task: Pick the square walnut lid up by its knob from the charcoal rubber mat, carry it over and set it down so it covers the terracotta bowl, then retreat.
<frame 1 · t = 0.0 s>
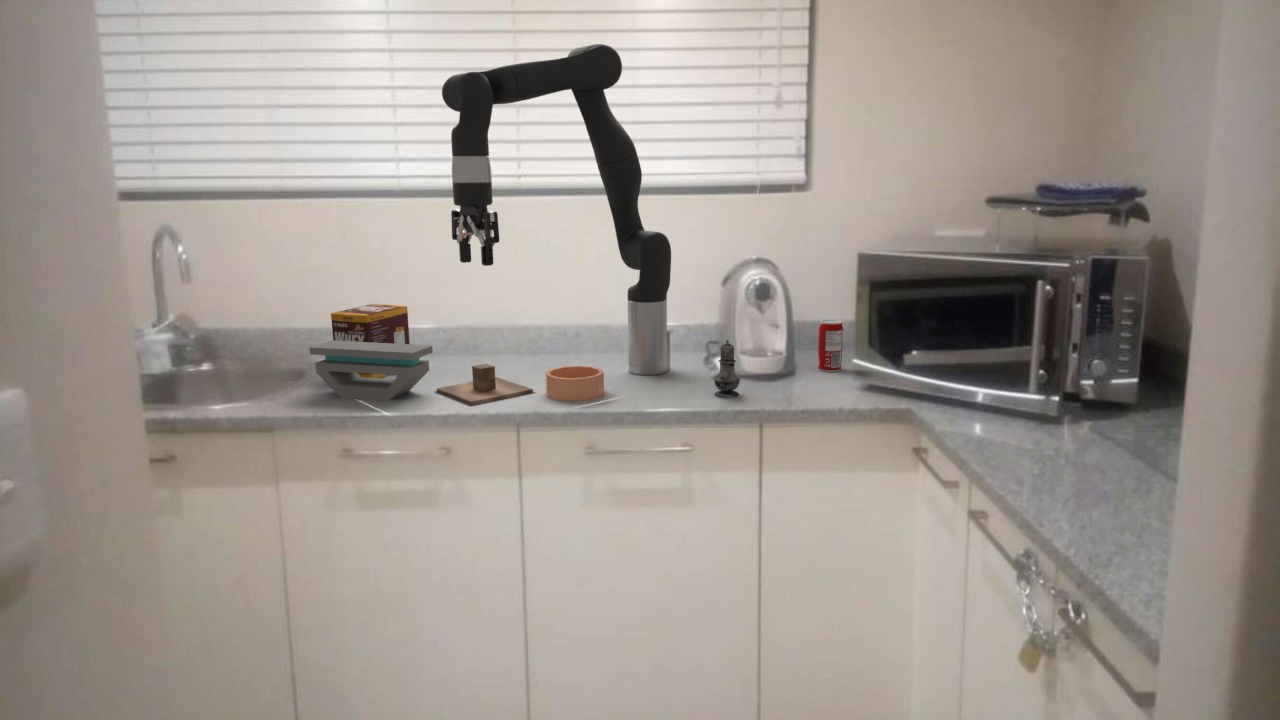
hand: (476, 263, 170), 29 cm above the worktop, fingers open, 8 cm apart
soda can: (829, 370, 204), on the worktop
sharpening stone: (374, 396, 186), on the worktop
terracotta bowl: (575, 394, 184), on the worktop
charcoal mat: (484, 394, 185), on the worktop
supplement box: (374, 373, 207), on the worktop
walnut lid: (484, 392, 185), resting on charcoal mat
salt shaker: (726, 395, 183), on the worktop
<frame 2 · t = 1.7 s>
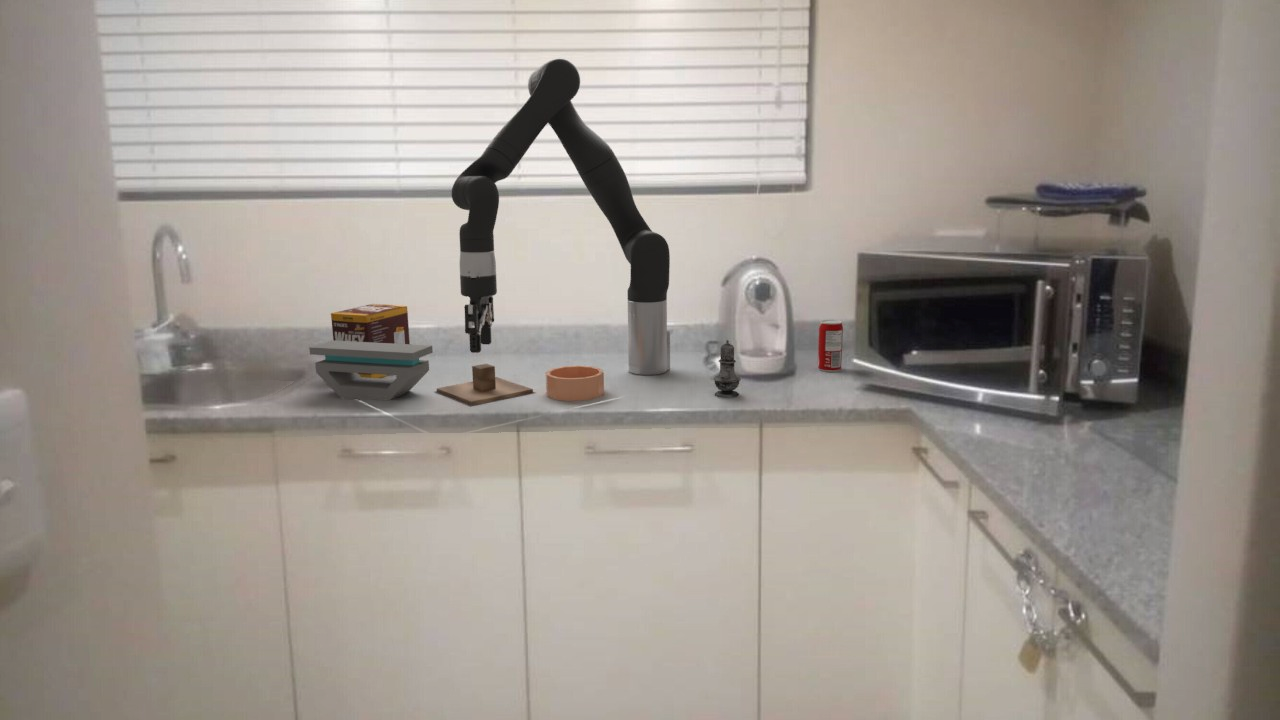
hand: (481, 348, 183), 10 cm above the worktop, fingers open, 8 cm apart
nothing on the worktop moved.
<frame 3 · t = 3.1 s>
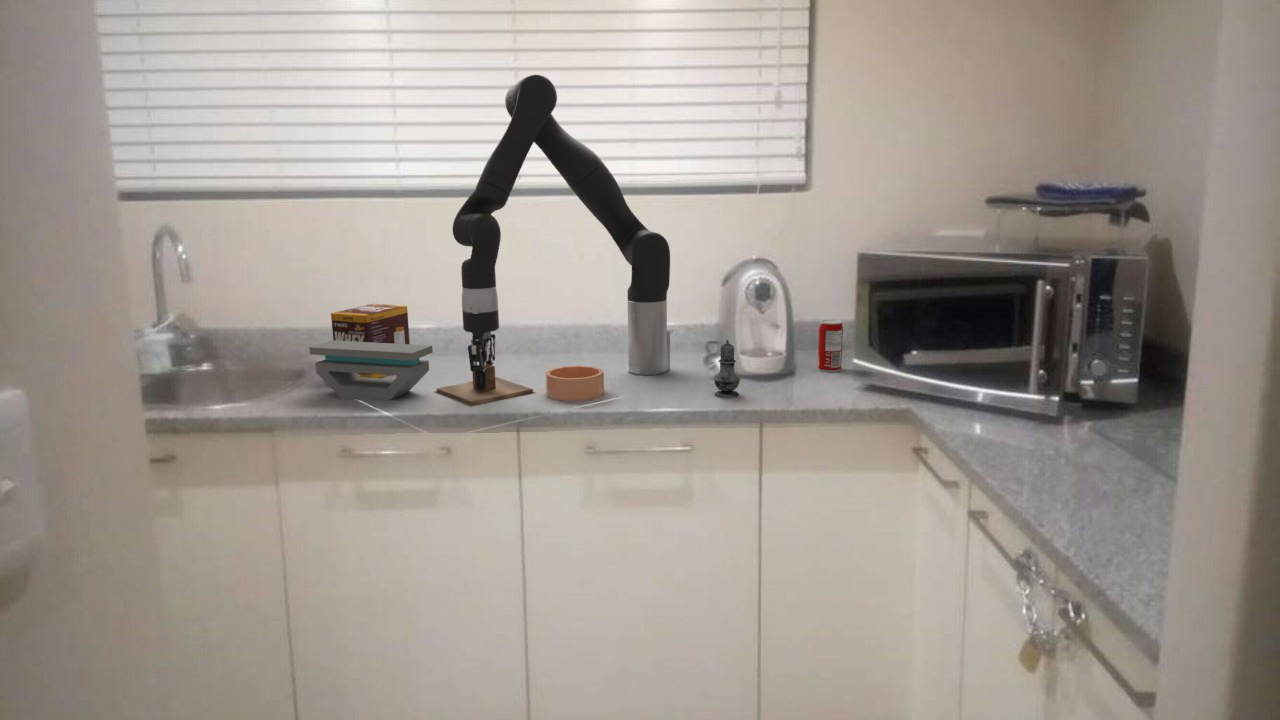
hand: (484, 385, 185), 2 cm above the worktop, fingers closed on walnut lid, 5 cm apart
walnut lid: (484, 392, 185), resting on charcoal mat, touching gripper
everything else where it was.
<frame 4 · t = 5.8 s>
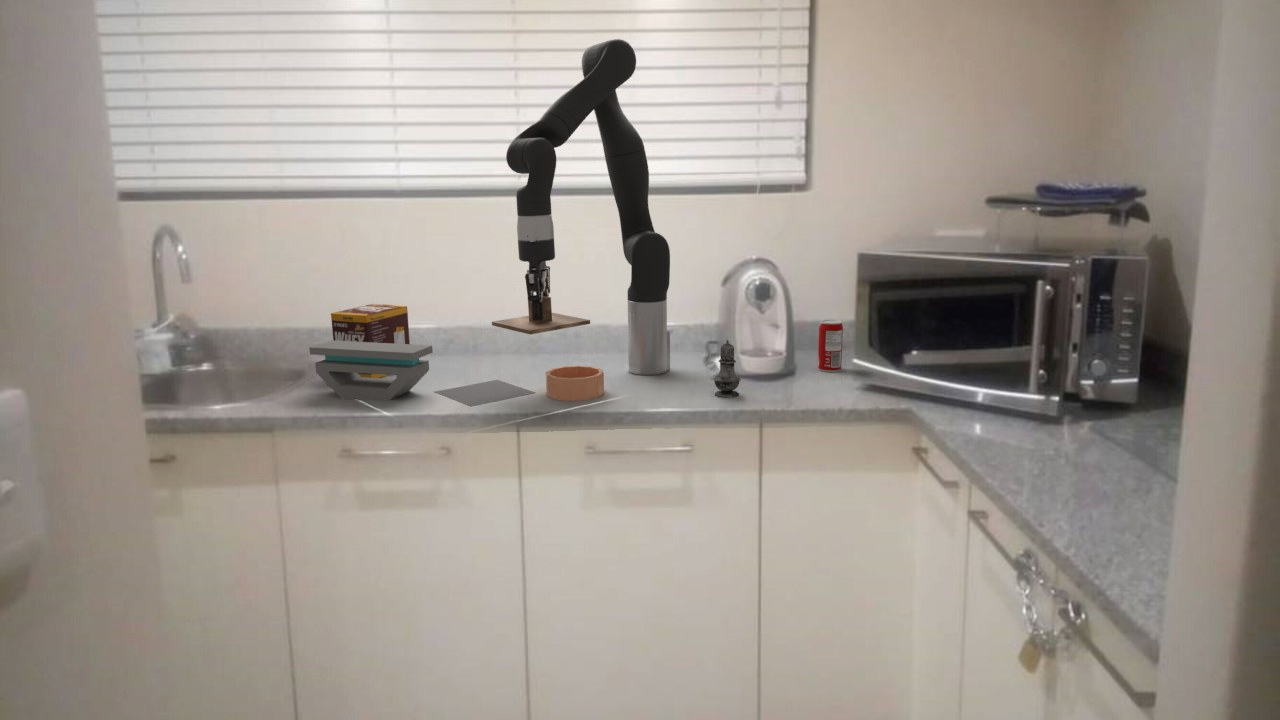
hand: (540, 317, 181), 17 cm above the worktop, fingers closed on walnut lid, 5 cm apart
walnut lid: (540, 324, 182), point 15 cm above the worktop, touching gripper
everything else where it was.
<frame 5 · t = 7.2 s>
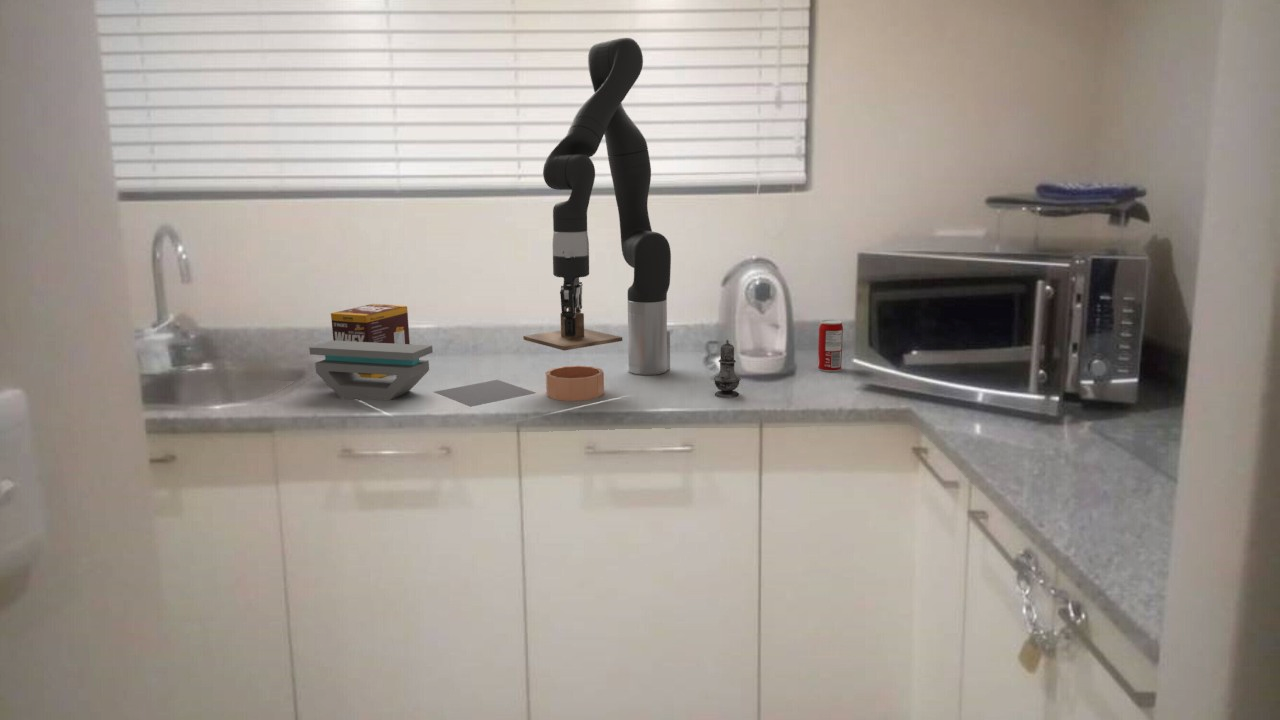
hand: (572, 333, 181), 13 cm above the worktop, fingers closed on walnut lid, 5 cm apart
walnut lid: (572, 340, 181), point 12 cm above the worktop, touching gripper
everything else where it was.
when the fingers open (8 cm above the worktop, at t = 8.6 s): walnut lid drops 1 cm, resting on terracotta bowl.
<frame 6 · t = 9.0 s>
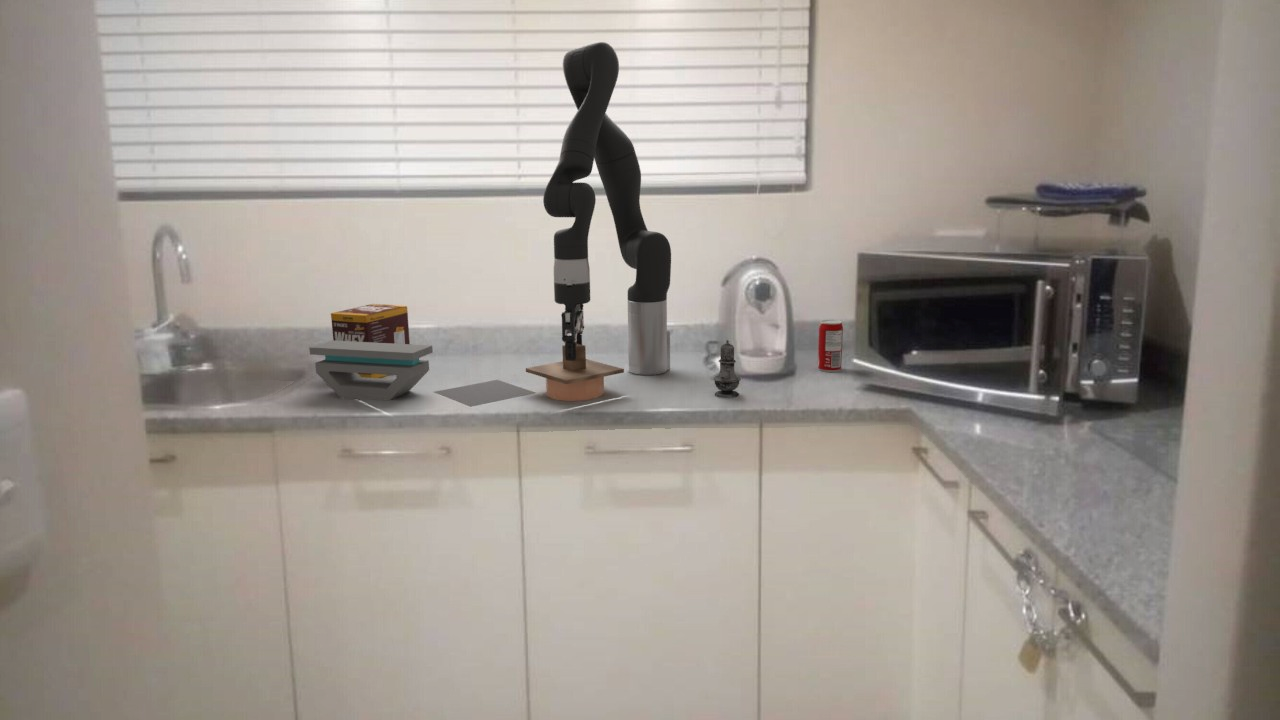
hand: (574, 355, 182), 9 cm above the worktop, fingers open, 8 cm apart
walnut lid: (574, 372, 183), point 5 cm above the worktop, touching terracotta bowl
everything else where it was.
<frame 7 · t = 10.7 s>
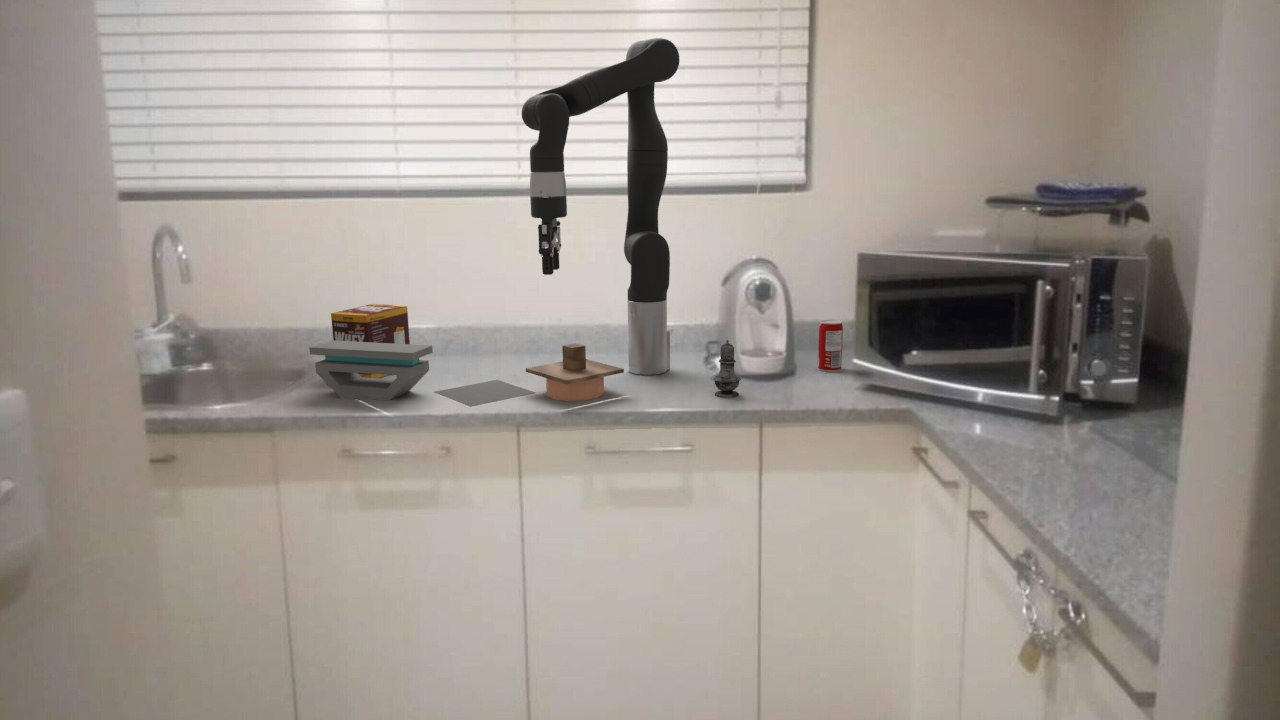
hand: (551, 272, 182), 26 cm above the worktop, fingers open, 8 cm apart
nothing on the worktop moved.
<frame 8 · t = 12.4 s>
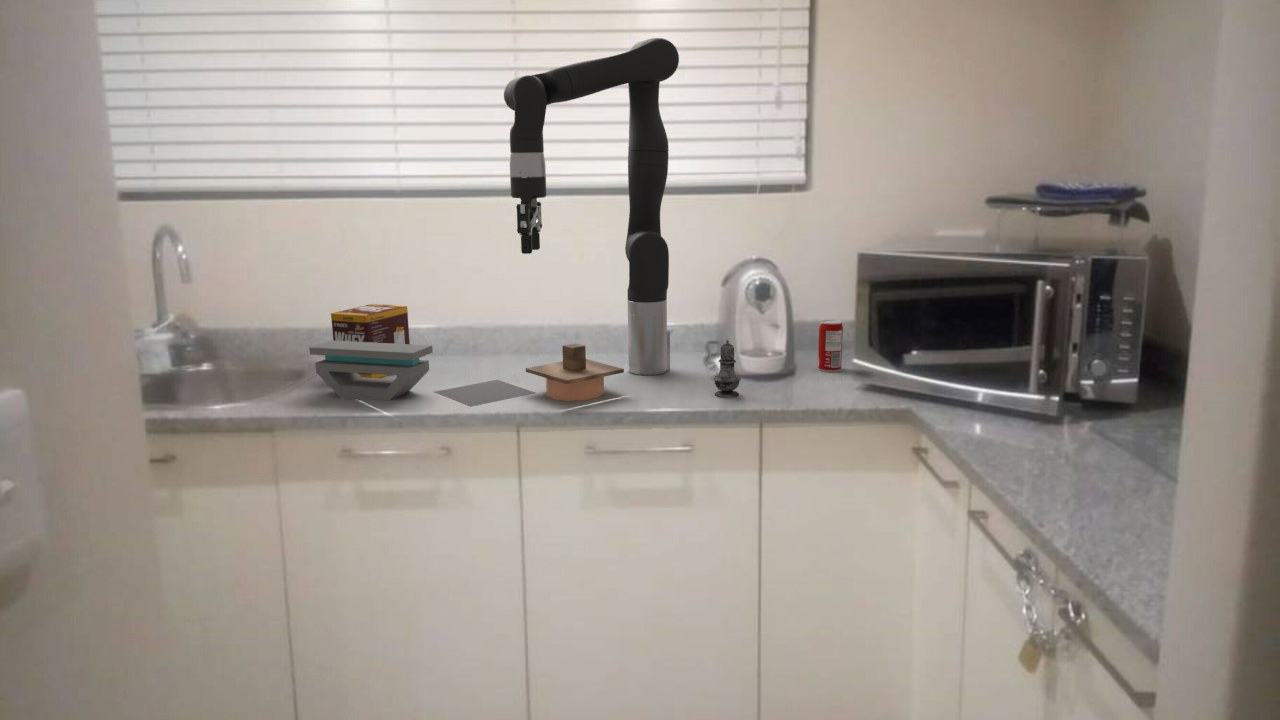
hand: (530, 251, 185), 30 cm above the worktop, fingers open, 8 cm apart
nothing on the worktop moved.
at the end: walnut lid 0.0 cm off-centre on the terracotta bowl, point 5.0 cm above the terracotta bowl's base; walnut lid tilted 0°; the gripper is holding nothing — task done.
